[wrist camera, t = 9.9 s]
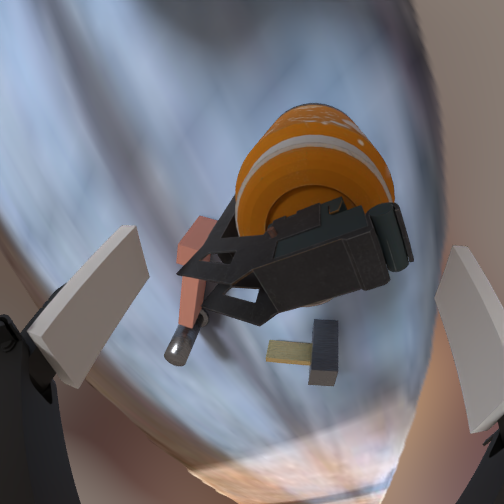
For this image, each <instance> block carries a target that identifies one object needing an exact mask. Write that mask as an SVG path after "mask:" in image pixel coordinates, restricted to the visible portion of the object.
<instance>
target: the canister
mask: <svg viewBox="0 0 504 504" xmlns="http://www.w3.org/2000/svg"><path fill="white" fill-rule="evenodd" d="M394 201H395V195H394V185H393V181H392V177H391V174H390V172H389V169H388V167H387V165H386V163H385V161H384V160H383V158H382V157H381V155H380V154H379V152H378V151H377V150H376V149H375V147H374V146H373V145H372V143H371V142H370V141H369V140H368V139H367V137H366V136H365V135H364V134H363V132H362V131H361V130H360V129H359V128H358V126H357V125H356V124H355V123H354V122H353V121H352V120H351V119H350V118H349V117H348V116H347V115H346V114H345V113H343V112H342V111H340V110H338V109H336V108H334V107H332V106H329V105H325V104H319V103H308V104H303V105H299V106H296V107H293V108H292V109H290V110H288V111H286V112H285V113H284V114H282V115H281V116H280V117H279V118H278V119H277V120H276V122H275V123H274V124H273V125H272V126H271V127H270V129H269V130H268V131H267V132H266V133H265V134H264V136H263V137H262V138H261V139H260V140H259V142H258V143H257V144H256V145H255V146H254V148H253V149H252V150H251V151H250V152H249V154H248V155H247V157H246V159H245V160H244V162H243V164H242V166H241V169H240V171H239V174H238V178H237V182H236V192H235V195H234V197H233V198H232V200H231V201H230V203H229V205H228V206H227V208H226V209H225V211H224V212H223V214H222V216H221V217H220V219H219V220H218V221H217V223H216V224H215V226H214V227H213V229H212V230H211V232H210V234H209V235H208V238H207V240H206V241H205V243H204V245H203V246H202V247H201V248H200V249H199V250H198V251H197V252H196V253H195V254H194V255H193V256H192V257H191V259H190V260H189V261H188V262H187V263H186V264H185V265H184V266H183V267H182V268H181V269H180V270H179V271H178V272H177V273H176V274H177V275H180V276H185V277H190V278H195V279H200V280H205V281H210V282H216V283H219V284H218V285H217V286H216V287H215V289H214V290H213V291H212V292H211V294H210V295H209V296H208V297H207V298H206V300H205V301H204V302H203V303H202V305H201V307H202V308H205V309H208V310H211V311H214V312H217V313H220V314H223V315H226V316H229V317H232V318H235V319H238V320H241V321H245V322H248V323H251V324H254V325H257V326H261V325H263V324H264V323H266V322H267V321H268V320H270V319H271V318H273V317H274V316H275V315H277V314H278V313H281V312H285V311H288V310H292V309H296V308H299V307H311V306H317V305H320V304H323V303H326V302H328V301H330V300H331V299H333V298H334V297H337V296H341V295H344V294H347V293H351V292H354V291H357V290H360V289H363V290H365V291H367V290H370V289H373V288H376V287H379V286H382V285H385V284H387V283H388V282H389V281H390V276H389V273H388V270H390V271H392V272H398V271H401V270H403V269H405V268H406V267H407V266H408V264H409V262H413V261H414V258H413V254H412V250H411V246H410V242H409V239H408V235H407V231H406V228H405V224H404V221H403V217H402V214H401V211H400V207H399V205H398V204H396V203H394ZM216 253H217V254H218V256H219V257H220V259H221V260H222V262H223V263H224V264H223V263H215V262H207V261H202V260H203V259H204V258H205V257H206V256H207V255H209V254H216ZM407 256H408V257H407ZM408 258H409V261H408ZM386 265H387V266H386ZM387 268H388V269H387ZM231 288H248V289H259V293H258V296H257V300H256V302H255V303H253V302H249V301H245V300H242V299H238V298H234V297H230V296H227V295H224V294H225V293H226V292H227V291H228V290H229V289H231Z"/></svg>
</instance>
